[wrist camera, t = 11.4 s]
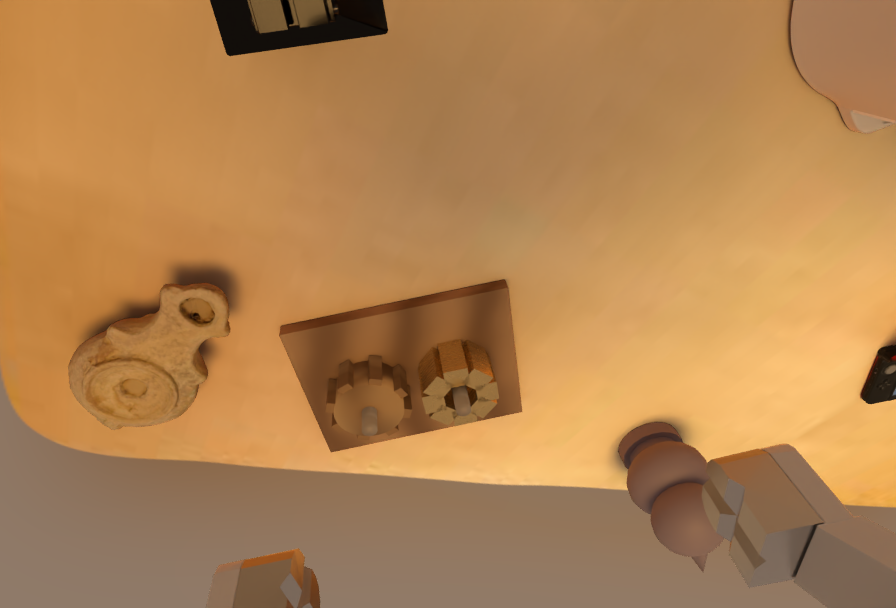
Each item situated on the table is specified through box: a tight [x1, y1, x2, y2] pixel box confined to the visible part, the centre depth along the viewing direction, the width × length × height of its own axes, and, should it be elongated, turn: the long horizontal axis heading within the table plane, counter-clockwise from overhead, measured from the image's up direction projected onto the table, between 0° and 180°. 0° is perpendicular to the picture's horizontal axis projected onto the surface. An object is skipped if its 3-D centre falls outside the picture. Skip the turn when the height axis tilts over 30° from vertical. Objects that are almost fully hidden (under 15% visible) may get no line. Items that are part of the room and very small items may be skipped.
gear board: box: [279, 280, 522, 452], centre depth 44 cm, size 18×14×6 cm
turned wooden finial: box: [618, 422, 724, 571], centre depth 52 cm, size 8×8×12 cm
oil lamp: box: [68, 283, 230, 430], centre depth 39 cm, size 11×14×5 cm
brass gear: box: [418, 339, 499, 426], centre depth 44 cm, size 6×6×4 cm
